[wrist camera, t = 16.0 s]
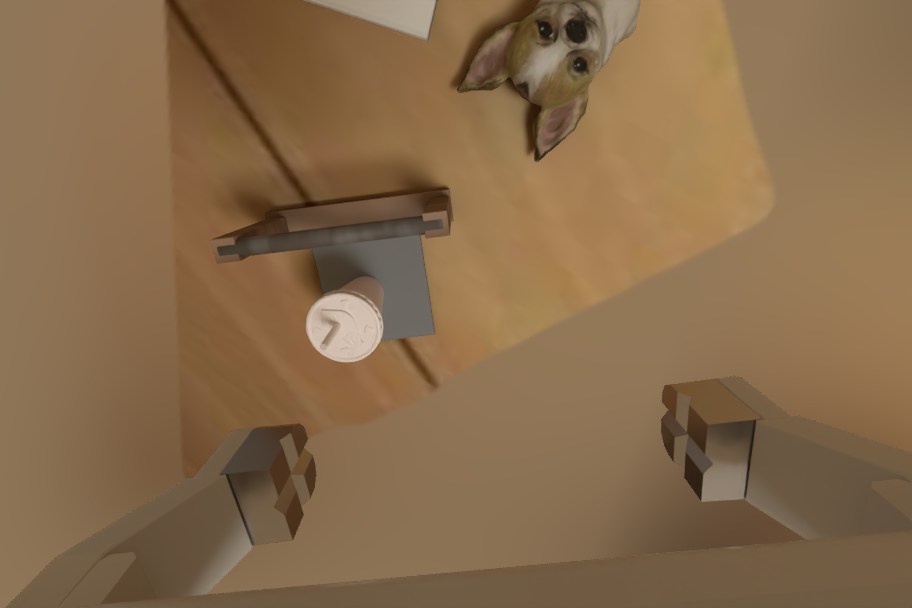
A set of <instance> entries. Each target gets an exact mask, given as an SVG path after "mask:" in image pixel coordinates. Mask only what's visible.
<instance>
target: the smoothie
mask: <svg viewBox="0 0 912 608" xmlns="http://www.w3.org/2000/svg"><path fill="white" fill-rule="evenodd" d="M383 297H384V291H383V288H382V286H381V284H380V283H379V282H378V281H377V280H376V279H374V278H372V277H368V276H361V277H358V278H356V279H354V280H353V281H351V282H350V283H348V284H347V285H345V286H343V287H342V288H340V289H339V290H334V291H331V292H328V293H326V294H324V295H323V296H321V297H320V298H319V299H317V301H316V302H315V303H314V305H313V306H312V307H311V309H310V311H309V313H308V315H307V320H306V330H307V334H308V337H309V339H310V341H311V343H312V344H313V346H314V347H315V348H316V349H317V350H318V351H319V352H320V353H321V354H323V355H324V356H326V357H328V358H330V359H332V360H335V361H339V362H354V361H358V360H361V359H363V358H365V357H367V356H368V355H370V354H371V353H372V352H373V351H374V349H375V348H376V347H377V345H378V344H379V342H380V340H381V337H382V335H383V320H382V316H381V314H382V305H383Z"/></svg>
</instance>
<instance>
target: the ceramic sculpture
mask: <svg viewBox="0 0 912 608" xmlns="http://www.w3.org/2000/svg"><path fill="white" fill-rule="evenodd" d="M639 7H640V0H539V2H538V3H537V5H536V6H535V8H534V10H533V11H532V12H531V13H530V14H529V15H528V16H527V17H526V18H525V19H524V20H523V21H520V22H511V23H508V24H505V25H503V26H500V27H498V28H496V29H495V31H494V32H493V33H492V34H491V35H490V36H489V37H488V38H487V39H486V40H484V41H483V42H482V43H481V46H480V48H479V49H478V51H477V53H476V54H475V56H474V58H473V60H472V62H471V63H470V65H469V67H468V69H467V71H466V74H465V77H464V78H463V80H462V82H461V83H460V85H459V87H458V89H457V91H458V92H459V93H462V92H467V91H471V90H493V89H496V88H498V87H499V86H500V85H501V84H502V83H503V82H504V81H505V80H506V79H507V78H509V77H511V79H512V81H513V83H514V85H515V87H516V89H517V91H518V92H519V94H520V95H521V96H522V98H524V99H526V100H528V101H529V102H531V103H534V104H537V105H539V106H542V107H541V110H540V112H539V114H538V115H537V116H536V118H535V119H534V122H533V126H532V130H533V138H534V145H535V153H534V159H535V161H536V162H538V161H539V160H541V159H542V158H543V157H544V156H545V155H546V154H547V153H548V152H549V151H551V150H552V149H553V148H554V147H555V146H557V145H558V144H559V143H560V142H561V141H562V140H564V139H565V138H566V136H568V135H569V134H570V133H571V132H572V131H574V130H575V128H576V126H577V123H578V122H579V120H580V118H581V117H582V116H583V115H584V114H585V110H586V106H587V102H588V87H589V84H590V83H591V82H592V80H593V78H594V77H595V75H596V74H597V73H598V72H599V70H600V69H601V68H602V67H603V66H604V65H605V64H606V63H607V61H608V59H609V56H610V54H611V53H612V51H613V49H614V47H615V46H616V45H617V44H618V43H619V42H621V41H623V40H624V39H625V38H627V37H629V36H630V35H631V34H632V33H633V32H634V31H635V29H636V21H637V16H638V12H639Z"/></svg>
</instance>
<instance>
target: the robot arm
mask: <svg viewBox="0 0 912 608" xmlns="http://www.w3.org/2000/svg"><path fill="white" fill-rule="evenodd" d="M662 403H663V404H664V405H665V406H666V408H667V409H668V411H667V413H666V414H665V415H664V416H663V418H662V419H661V434H662V439H663V443H664V446H665V449H666V451H667V453H668V455H669V456H670V458H671V459H672V461H673V462H674V463H676V464H678V465H679V466H681V467H683V468H685V472H684V478H685V479H686V481H687V482H688V484H689V485H690V486H691V488H692V489H693V491H694V492H695V494H696V495H697V496H698V498H699V499H700V500H701V502H704V501H719V500H734V499H746V501H747V502H749V503H750V504H752V505H753V506H755V507H756V508H758V509H759V510H761V511H763V512H764V513H766V514H767V515H769V516H770V517H772V518H774V519H775V520H777V521H778V522H780V523H781V524H783V525H785V526H786V527H788V528H789V529H791V530H792V531H794V532H796V533H797V534H799V535H800V536H802V537H803V538H805V539H806V540H803V541H793V542H782V543H772V544H760V545H749V546H738V547H727V548H715V549H705V550H693V551H682V552H671V553H660V554H650V555H638V556H626V557H616V558H604V559H593V560H582V561H571V562H560V563H549V564H538V565H528V566H516V567H506V568H495V569H484V570H473V571H463V572H452V573H441V574H429V575H418V576H407V577H396V578H386V579H375V580H363V581H352V582H342V583H330V584H319V585H308V586H297V587H286V588H274V589H263V590H252V591H241V592H231V593H220V594H208V595H206V594H207V593H208V592H209V591H210V590H211V589H212V588H213V587H214V586H215V585H216V584H217V583H218V582H219V581H220V580H221V579H222V578H223V577H224V576H225V575H226V574H227V573H228V572H229V571H230V570H231V569H232V568H233V567H234V566H235V565H236V564H237V563H238V562H239V561H240V560H241V559H242V558H243V557H244V556H245V555H246V554H247V553H248V552H249V551H250V550H251V549H252V546H253V545H260V544H269V543H277V542H285V541H292V540H293V539H294V537H295V534H296V532H297V530H298V527H299V525H300V523H301V519H302V518H303V515H304V514H303V510H302V507H301V506H302V505H303V504H305V503H306V502H307V501H308V500H309V499H311V496H312V494H313V491H314V488H315V482H316V465H315V461H314V458H313V455H312V454H311V453H310V452H308V451H307V450H306V449H305V448H304V447H305V445H306V443H307V441H308V437H307V433H306V430H305V427H304V426H302V425H301V424H300V423H298V424H287V425H275V426H263V427H251V428H243V429H237V430H234V431H231V432H230V434H229V435H228V436H227V437H226V439H225V440H224V441H223V442H222V444H221V445H220V446H219V447H218V448H217V450H216V451H215V452H214V453H213V455H212V456H211V457H210V458H209V460H208V461H207V462H206V463H205V464H204V466H203V467H202V468H201V469H200V471H199V472H198V473H197V474H196V476H195V477H194V478H188V479H185V480H183V481H182V482H180V483H179V484H177V485H175V486H174V487H172V488H170V489H168V490H167V491H165V492H163V493H162V494H160V495H158V496H157V497H155V498H154V499H152V500H150V501H148V502H147V503H145V504H143V505H142V506H140V507H138V508H137V509H135V510H133V511H132V512H130V513H128V514H127V515H125V516H124V517H122V518H120V519H118V520H117V521H115V522H113V523H112V524H110V525H108V526H107V527H105V528H103V529H102V530H100V531H98V532H97V533H95V534H93V535H92V536H90V537H88V538H87V539H85V540H83V541H82V542H80V543H78V544H77V545H75V546H73V547H72V548H70V549H69V550H67V551H65V552H63V553H62V554H60V555H58V556H57V557H55V558H54V559H53V560H52V561H51V562H50V563H49V564H48V565H47V566H46V567H45V568H44V569H43V570H42V571H41V572H40V573H39V574H38V575H37V576H36V577H35V578H34V579H33V580H32V581H31V582H30V583H29V584H28V585H27V586H26V587H25V588H24V589H23V590H22V591H21V592H20V594H18V595H17V596H16V597H15V599H14V600H13V601H11V602H10V603H9V604H8V605H7V607H6V608H912V453H910V452H907V451H904V450H901V449H898V448H895V447H892V446H889V445H886V444H883V443H880V442H877V441H874V440H871V439H868V438H865V437H862V436H859V435H856V434H853V433H850V432H847V431H843V430H841V429H838V428H834V427H832V426H828V425H825V424H822V423H819V422H816V421H813V420H810V419H807V418H804V417H801V416H793V417H791V416H790V415H789V414H787V413H786V412H785V411H783V410H782V409H781V408H780V407H779V406H777V405H776V404H775V403H773V402H772V401H771V400H769V399H768V398H767V397H766V396H765V395H763V394H762V393H761V392H759V391H758V390H757V389H756V388H754V387H753V386H752V385H751V384H749V383H748V382H747V381H745V380H744V379H743V378H741V377H738V376H729V377H722V378H715V379H710V380H702V381H694V382H687V383H678V384H671V385H665V386H664V389H663V392H662Z"/></svg>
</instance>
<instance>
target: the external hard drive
mask: <svg viewBox="0 0 912 608" xmlns="http://www.w3.org/2000/svg"><path fill="white" fill-rule="evenodd" d="M303 1H306V2H309V3H312V4H315V5H318V6H321V7H324V8H327V9H330V10H333V11H336V12H339V13H342V14H345V15H348V16H351V17H354V18H357V19H360V20H363V21H366V22H369V23H372V24H375V25H378V26H381V27H384V28H387V29H390V30H394V31H397V32H400V33H403V34H406V35H409V36H412V37H415V38H418V39H421V40H424V41H427V42H428V39H429V35H430V30H431V26H432V22H433V17H434V13H435V9H436V5H437V0H303Z"/></svg>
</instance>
